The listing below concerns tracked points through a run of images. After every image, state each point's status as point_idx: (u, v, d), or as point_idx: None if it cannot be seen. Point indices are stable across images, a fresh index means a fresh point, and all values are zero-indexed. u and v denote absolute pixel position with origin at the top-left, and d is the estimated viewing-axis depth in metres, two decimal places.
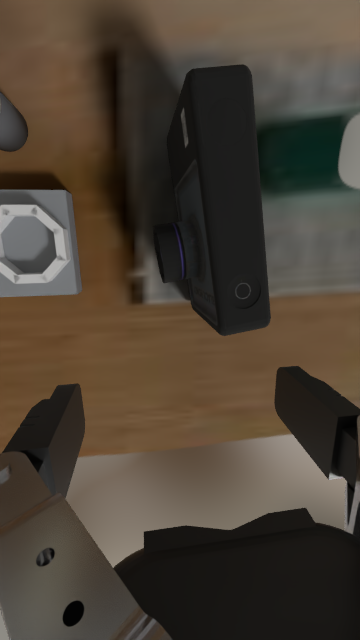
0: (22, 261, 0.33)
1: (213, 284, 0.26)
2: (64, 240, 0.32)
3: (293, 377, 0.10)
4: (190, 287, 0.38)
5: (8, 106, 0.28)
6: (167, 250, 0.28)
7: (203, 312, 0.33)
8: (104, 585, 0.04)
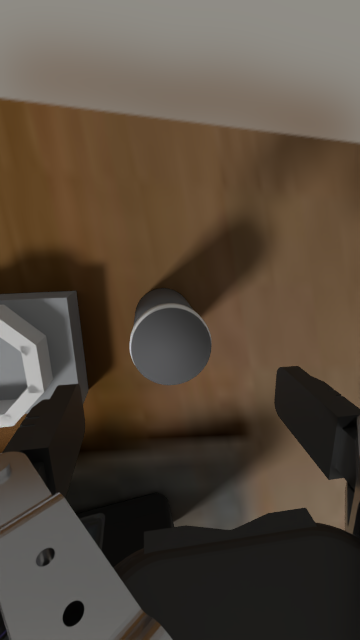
0: None
1: None
2: None
3: (293, 377, 0.10)
4: None
5: None
6: None
7: None
8: (104, 585, 0.04)
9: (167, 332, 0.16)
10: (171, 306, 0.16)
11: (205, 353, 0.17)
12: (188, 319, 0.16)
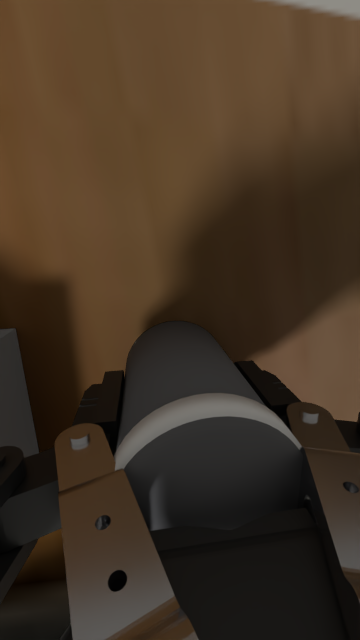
0: None
1: None
2: None
3: (244, 370, 0.11)
4: None
5: None
6: None
7: None
8: (147, 565, 0.04)
9: (208, 486, 0.06)
10: (219, 411, 0.06)
11: None
12: (267, 451, 0.06)
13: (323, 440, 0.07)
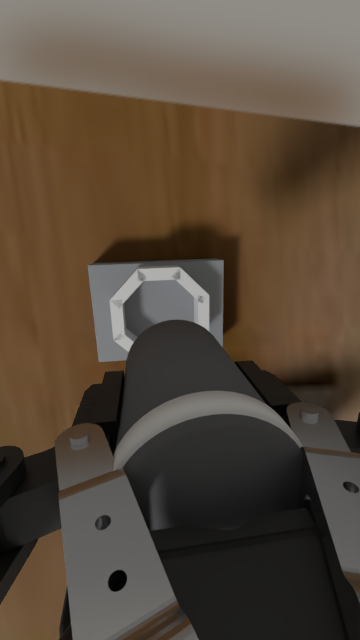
0: (139, 299, 0.25)
1: None
2: None
3: (244, 370, 0.11)
4: None
5: None
6: None
7: None
8: (146, 565, 0.04)
9: (208, 483, 0.06)
10: (219, 409, 0.06)
11: None
12: (267, 448, 0.06)
13: (323, 440, 0.07)
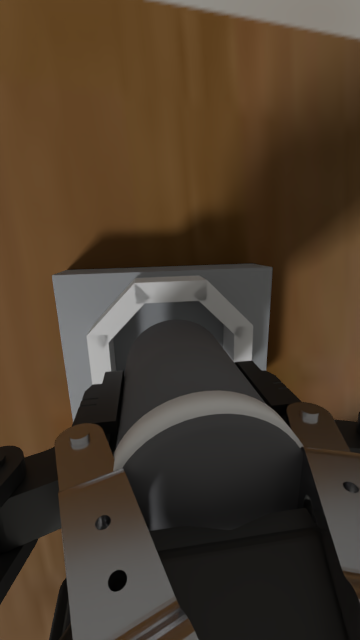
0: (136, 328, 0.16)
1: None
2: None
3: (244, 370, 0.11)
4: None
5: None
6: None
7: None
8: (147, 565, 0.04)
9: (208, 483, 0.06)
10: (219, 409, 0.06)
11: None
12: (267, 448, 0.06)
13: (323, 440, 0.07)
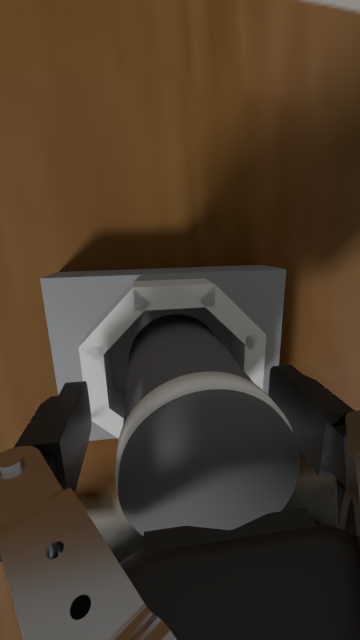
0: None
1: None
2: None
3: (285, 375, 0.10)
4: None
5: None
6: None
7: None
8: (110, 581, 0.04)
9: (204, 448, 0.07)
10: (213, 385, 0.07)
11: (286, 485, 0.08)
12: (254, 418, 0.07)
13: None
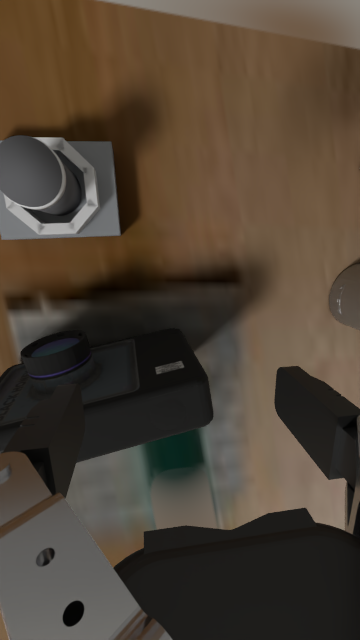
0: None
1: (10, 425, 0.23)
2: (62, 233, 0.28)
3: (293, 377, 0.10)
4: None
5: (49, 210, 0.25)
6: (53, 360, 0.25)
7: None
8: (104, 586, 0.04)
9: (21, 156, 0.21)
10: (25, 136, 0.21)
11: (56, 179, 0.21)
12: (38, 146, 0.21)
13: None
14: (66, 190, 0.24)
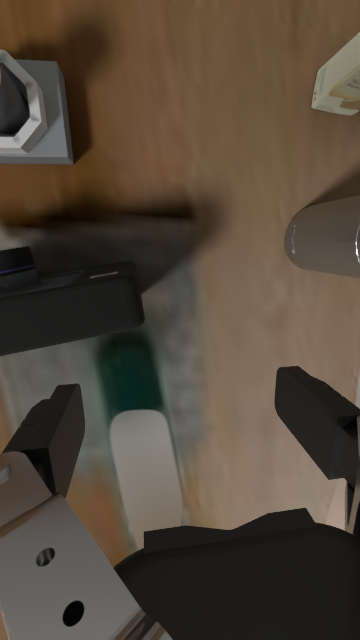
0: None
1: None
2: (8, 148, 0.30)
3: (293, 377, 0.10)
4: None
5: None
6: None
7: None
8: (104, 585, 0.04)
9: None
10: None
11: None
12: None
13: None
14: (4, 91, 0.25)
